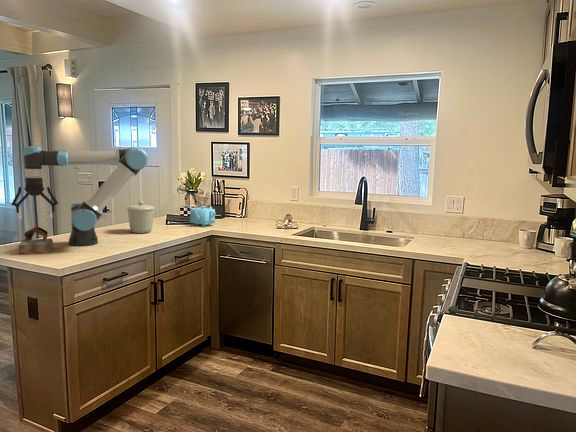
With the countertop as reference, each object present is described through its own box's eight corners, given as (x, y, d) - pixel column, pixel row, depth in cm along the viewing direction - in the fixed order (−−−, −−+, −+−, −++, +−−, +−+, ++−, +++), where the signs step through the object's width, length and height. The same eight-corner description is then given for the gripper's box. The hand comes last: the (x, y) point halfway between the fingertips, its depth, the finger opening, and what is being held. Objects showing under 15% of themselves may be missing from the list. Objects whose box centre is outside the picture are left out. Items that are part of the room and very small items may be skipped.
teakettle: (216, 227, 314) (217, 207, 312) (191, 227, 307) (191, 207, 305) (211, 223, 331) (212, 204, 329) (187, 223, 324) (187, 204, 322)
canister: (127, 229, 287) (127, 199, 284) (155, 229, 293) (155, 199, 290) (126, 234, 270) (125, 202, 267) (155, 234, 276) (155, 202, 273)
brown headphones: (31, 239, 224) (39, 225, 225) (45, 248, 223) (53, 234, 224) (15, 237, 212) (24, 223, 213) (30, 247, 211) (39, 232, 212)
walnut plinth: (52, 247, 227) (52, 238, 226) (51, 253, 215) (51, 243, 214) (22, 248, 221) (21, 239, 220) (18, 254, 209) (18, 245, 208)
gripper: (62, 176, 221) (64, 216, 225) (5, 176, 210) (8, 218, 214) (61, 177, 215) (63, 218, 218) (3, 177, 204) (6, 220, 207)
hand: (36, 218), depth 216 cm, fingers open, 13 cm apart
